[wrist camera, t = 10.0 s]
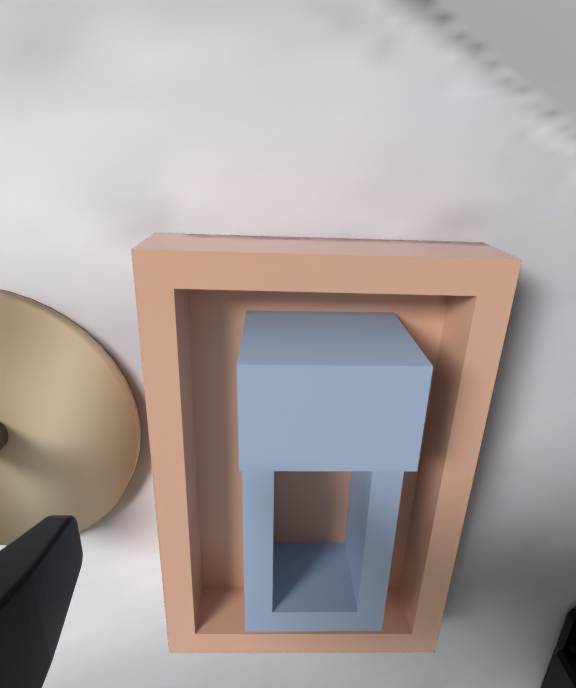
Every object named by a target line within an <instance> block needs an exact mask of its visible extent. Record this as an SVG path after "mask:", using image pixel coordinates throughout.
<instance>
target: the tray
mask: <svg viewBox="0 0 576 688" xmlns="http://www.w3.org/2000/svg"><path fill="white" fill-rule="evenodd" d="M131 251H132V262H133V273H134V283H135V294H136V305H137V315H138V326H139V336H140V347H141V358H142V368H143V379H144V390H145V400H146V411H147V422H148V432H149V443H150V454H151V464H152V475H153V486H154V496H155V507H156V518H157V528H158V539H159V550H160V560H161V571H162V582H163V592H164V603H165V614H166V624H167V635H168V646H169V653H301V652H435V649H436V644H437V640H438V635H439V631H440V626H441V622H442V617H443V613H444V608H445V604H446V599H447V595H448V590H449V586H450V581H451V577H452V572H453V568H454V563H455V559H456V554H457V550H458V545H459V541H460V537H461V532H462V528H463V523H464V519H465V514H466V510H467V505H468V501H469V496H470V492H471V487H472V483H473V478H474V474H475V469H476V465H477V460H478V456H479V451H480V447H481V442H482V438H483V433H484V429H485V424H486V420H487V415H488V411H489V406H490V402H491V397H492V393H493V388H494V384H495V379H496V375H497V370H498V366H499V361H500V357H501V352H502V348H503V343H504V339H505V334H506V330H507V325H508V321H509V316H510V312H511V307H512V303H513V298H514V294H515V289H516V285H517V280H518V276H519V271H520V267H521V262H522V260H521V259H519V258H517V257H514V256H512V255H510V254H508V253H505V252H503V251H501V250H499V249H496V248H494V247H492V246H490V245H487V244H485V243H483V242H449V241H414V240H379V239H344V238H309V237H274V236H239V235H204V234H169V233H154V234H153V235H151V236H150V237H148V238H147V239H146V240H144V241H143V242H141V243H140V244H138V245H137V246H135V247H134V248H132V249H131ZM246 311H325V312H394V314H395V315H396V316H397V318H398V319H399V320H400V322H401V323H402V325H403V326H404V327H405V329H406V330H407V331H408V333H409V334H410V335H411V337H412V338H413V340H414V341H415V342H416V344H417V345H418V346H419V348H420V349H421V350H422V352H423V353H424V355H425V356H426V357H427V359H428V360H429V361H430V363H431V364H432V365H433V371H432V377H431V384H430V390H429V397H428V404H427V410H426V417H425V423H424V430H423V436H422V443H421V449H420V456H419V463H418V469H417V471H404V475H403V482H402V489H401V496H400V504H399V511H398V518H397V525H396V532H395V539H394V547H393V554H392V561H391V568H390V575H389V582H388V589H387V597H386V604H385V611H384V618H383V625H382V631H280V632H245V597H244V545H243V492H242V471H239V446H238V401H237V360H238V355H239V349H240V344H241V338H242V333H243V327H244V322H245V316H246ZM350 478H351V471H274V515H273V542H345V535H346V523H347V512H348V501H349V489H350Z"/></svg>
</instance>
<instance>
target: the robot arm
mask: <svg viewBox="0 0 576 688" xmlns="http://www.w3.org/2000/svg"><path fill="white" fill-rule="evenodd" d="M82 558H83V552H82V545H81V540H80V534H79V528H78V523H77V520H76V518H75V517H74V516H72V515H50V516H47V517H46V518H44V519H43V520H41V521H40V522H39V523H37V524H36V525H35V526H33V527H32V528H30V529H29V530H28V531H26V532H25V533H24V534H22V535H21V536H20V537H18V538H17V539H16V540H14V541H13V542H11V543H10V544H9V545H7V546H6V547H5V548H3V549H2V550H1V551H0V688H42V686H43V683H44V681H45V678H46V676H47V673H48V670H49V668H50V665H51V663H52V660H53V657H54V653H55V650H56V647H57V644H58V641H59V638H60V634H61V631H62V628H63V625H64V621H65V618H66V615H67V611H68V608H69V605H70V602H71V598H72V595H73V592H74V588H75V585H76V582H77V579H78V575H79V572H80V569H81V565H82ZM541 688H576V609H573V610H572V611H570V612H569V613H568V615H567V617H566V620H565V623H564V626H563V628H562V631H561V634H560V637H559V639H558V642H557V645H556V648H555V650H554V653H553V656H552V659H551V661H550V664H549V667H548V670H547V672H546V675H545V678H544V681H543V683H542V686H541Z"/></svg>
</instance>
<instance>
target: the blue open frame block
mask: <svg viewBox="0 0 576 688" xmlns="http://www.w3.org/2000/svg"><path fill="white" fill-rule="evenodd" d="M432 371H433V365H432V364H431V363H430V361H429V360H428V359H427V357H426V356H425V355H424V353H423V352H422V350H421V349H420V348H419V346H418V345H417V344H416V342H415V341H414V340H413V338H412V337H411V335H410V334H409V333H408V331H407V330H406V329H405V327H404V326H403V325H402V323H401V322H400V320H399V319H398V318H397V316H396V315H395V314H394V312H325V311H246V316H245V322H244V327H243V333H242V338H241V344H240V349H239V355H238V360H237V401H238V446H239V471H242V492H243V545H244V597H245V632H280V631H382V625H383V618H384V611H385V604H386V597H387V589H388V582H389V575H390V568H391V561H392V554H393V547H394V539H395V532H396V525H397V518H398V511H399V504H400V496H401V489H402V482H403V475H404V471H417V469H418V463H419V456H420V449H421V443H422V436H423V430H424V423H425V417H426V410H427V404H428V397H429V390H430V384H431V377H432ZM274 471H351V478H350V489H349V501H348V512H347V523H346V535H345V542H273V515H274Z"/></svg>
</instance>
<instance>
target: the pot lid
mask: <svg viewBox="0 0 576 688" xmlns="http://www.w3.org/2000/svg"><path fill="white" fill-rule="evenodd" d="M140 445H141V424H140V419H139V413H138V408H137V405H136V402H135V399H134V396H133V393H132V391H131V389H130V387H129V385H128V383H127V381H126V379H125V377H124V375H123V374H122V372H121V371H120V369H119V368H118V366H117V365H116V363H115V362H114V360H113V359H112V358H111V357H110V356H109V355H108V353H107V352H106V351H105V350H104V349H103V347H102V346H101V345H100V344H99V343H98V342H97V341H95V340H94V339H93V338H92V337H91V336H90V335H89V334H88V333H87V332H86V331H85V330H83V329H82V328H80V327H79V326H78V325H76V324H75V323H74V322H72V321H71V320H70V319H68V318H67V317H65V316H63V315H62V314H60V313H58V312H57V311H55V310H53V309H51V308H50V307H48V306H45V305H43V304H41V303H39V302H37V301H34V300H32V299H30V298H27V297H24V296H21V295H18V294H15V293H12V292H9V291H5V290H0V545H9V544H10V543H11V542H13V541H14V540H16V539H17V538H18V537H20V536H21V535H22V534H24V533H25V532H26V531H28V530H29V529H30V528H32V527H33V526H35V525H36V524H37V523H39V522H40V521H41V520H43V519H44V518H46V517H47V516H50V515H72V516H74V517H75V518H76V520H77V523H78V528H79V532H81V531H83V530H84V529H86V528H88V527H90V526H92V525H93V524H95V523H96V522H97V521H99V520H100V519H101V518H103V517H104V516H105V515H106V514H107V513H108V512H109V511H110V510H111V509H112V508H113V507H114V506H115V505H116V503H117V502H118V501H119V499H120V498H121V497H122V495H123V494H124V492H125V490H126V488H127V486H128V484H129V482H130V480H131V477H132V475H133V473H134V471H135V468H136V464H137V461H138V458H139V453H140Z"/></svg>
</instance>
